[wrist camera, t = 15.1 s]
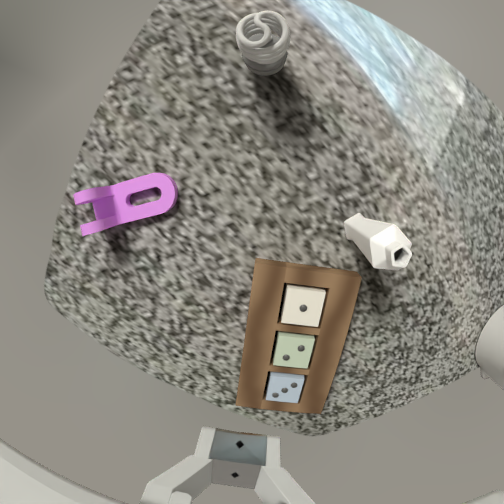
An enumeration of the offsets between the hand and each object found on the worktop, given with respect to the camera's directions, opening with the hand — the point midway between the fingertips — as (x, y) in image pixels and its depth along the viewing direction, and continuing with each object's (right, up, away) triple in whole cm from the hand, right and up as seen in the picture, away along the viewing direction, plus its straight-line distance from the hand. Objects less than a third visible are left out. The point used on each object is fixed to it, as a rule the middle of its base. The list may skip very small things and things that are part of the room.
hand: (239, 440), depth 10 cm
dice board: (+6, -6, +33) cm, 34 cm away
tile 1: (+7, +1, +31) cm, 32 cm away
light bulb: (+2, +32, +24) cm, 40 cm away
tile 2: (+6, -6, +33) cm, 34 cm away
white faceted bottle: (+15, +11, +29) cm, 34 cm away
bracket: (-16, +15, +30) cm, 37 cm away
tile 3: (+6, -13, +34) cm, 37 cm away
